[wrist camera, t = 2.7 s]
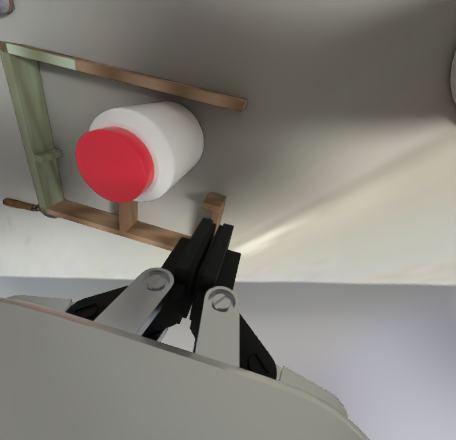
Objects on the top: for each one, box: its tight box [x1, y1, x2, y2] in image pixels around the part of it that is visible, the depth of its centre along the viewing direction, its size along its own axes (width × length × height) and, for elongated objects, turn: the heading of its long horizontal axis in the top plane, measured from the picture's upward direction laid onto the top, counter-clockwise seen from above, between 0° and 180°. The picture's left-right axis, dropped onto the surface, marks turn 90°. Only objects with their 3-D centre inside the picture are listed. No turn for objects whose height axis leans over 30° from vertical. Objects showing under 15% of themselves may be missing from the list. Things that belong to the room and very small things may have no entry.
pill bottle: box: [76, 101, 204, 203], centre depth 22 cm, size 8×8×11 cm
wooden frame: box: [0, 41, 247, 251], centre depth 27 cm, size 24×19×3 cm
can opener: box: [3, 199, 58, 218], centre depth 36 cm, size 9×2×1 cm, turn 76°
